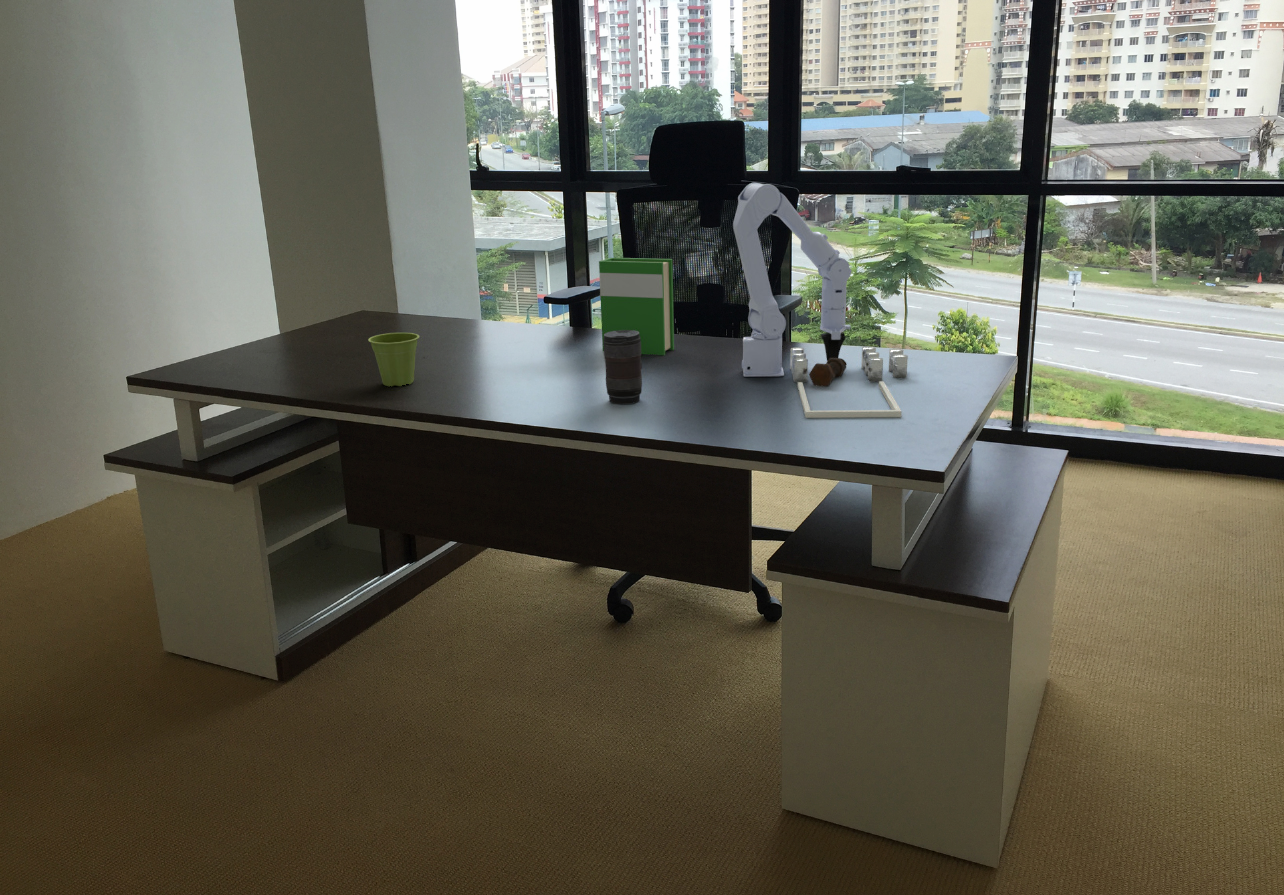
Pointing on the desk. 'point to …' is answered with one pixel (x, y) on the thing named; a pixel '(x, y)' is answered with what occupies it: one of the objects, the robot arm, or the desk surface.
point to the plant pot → (395, 357)
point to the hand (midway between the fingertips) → (832, 363)
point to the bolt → (827, 371)
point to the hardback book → (638, 300)
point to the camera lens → (623, 366)
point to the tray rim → (852, 413)
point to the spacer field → (869, 364)
